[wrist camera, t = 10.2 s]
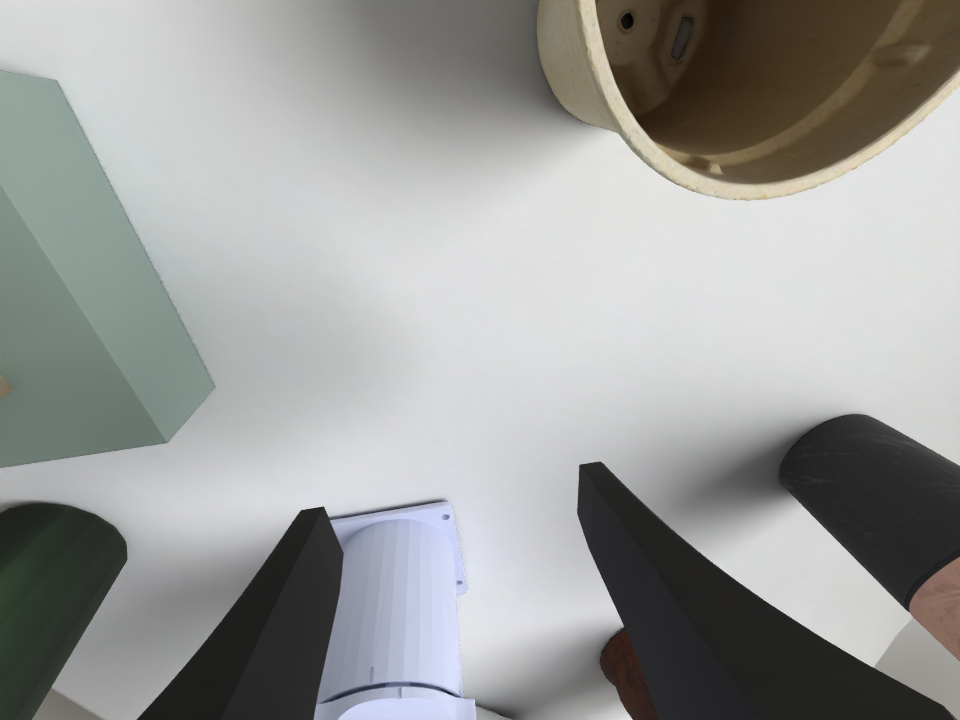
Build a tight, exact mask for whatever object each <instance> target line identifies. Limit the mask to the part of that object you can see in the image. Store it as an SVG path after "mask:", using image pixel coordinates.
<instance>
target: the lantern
mask: <svg viewBox="0 0 960 720" xmlns="http://www.w3.org/2000/svg"><path fill="white" fill-rule="evenodd" d="M600 665H601V669H602V671H603V673H604V675H605V677H606V678H607V679H608V680H609V681H610V682H611V683H612V684H613V685H614V686H616V688H617V691H618V694H619V697H620V700H621V702H622V704H623V706H624V708H625V709H626V710H627V712H628V713H629V715H630V716H631V718H632V719H633V720H659V718H658V715H657V712H656V709H655V706H654V703H653V700H652V697H651V695H650V692H649V689H648V686H647V683H646V681H645V678H644V675H643V672H642V670H641V667H640V664H639V661H638V659H637V656H636V653H635V650H634V648H633V646H632V643H631V641H630V638H629V636H628V634H627V631H626V629H625V628H624V629H622V630H621V631H620V632H619V633H617V634H616V635H615V636H614V637H612V638H611V639H610V641H609V642H608V643H607V645H606V646H605V647H604V649H603V650H602V653H601V658H600Z"/></svg>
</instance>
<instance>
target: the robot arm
mask: <svg viewBox="0 0 960 720" xmlns="http://www.w3.org/2000/svg"><path fill="white" fill-rule="evenodd" d="M445 514H447V515H445ZM577 514H578V517H579V520H580V523H581V526H582V529H583V532H584V535H585V538H586V541H587V544H588V547H589V550H590V552H591V554H592V556H593V559H594V561H595V563H596V565H597V568H598V570H599V572H600V574H601V576H602V579H603V581H604V583H605V585H606V587H607V590H608V592H609V594H610V596H611V598H612V601H613V603H614V605H615V607H616V609H617V611H618V614H619V616H620V618H621V620H622V622H623V625H624V627H625V629H626V631H627V634H628V636H629V638H630V641H631V643H632V646H633V648H634V650H635V653H636V656H637V659H638V661H639V664H640V667H641V670H642V672H643V675H644V678H645V681H646V683H647V686H648V689H649V692H650V695H651V697H652V700H653V703H654V706H655V709H656V712H657V715H658V718H659V720H957V719H956V718H955V717H954V716H953V715H952V714H951V713H950V712H949V711H948V710H947V709H946V708H945V707H944V706H942V705H941V704H939V703H937V702H935V701H933V700H932V699H930V698H928V697H926V696H924V695H922V694H920V693H919V692H917V691H915V690H913V689H911V688H909V687H908V686H906V685H904V684H902V683H900V682H898V681H897V680H895V679H893V678H891V677H889V676H887V675H885V674H884V673H882V672H880V671H878V670H876V669H875V668H873V667H871V666H869V665H867V664H866V663H864V662H862V661H860V660H859V659H857V658H855V657H854V656H852V655H850V654H848V653H847V652H845V651H843V650H842V649H840V648H838V647H837V646H835V645H833V644H832V643H830V642H828V641H827V640H825V639H823V638H821V637H820V636H818V635H817V634H815V633H814V632H812V631H811V630H809V629H808V628H806V627H804V626H803V625H801V624H800V623H798V622H797V621H795V620H794V619H792V618H790V617H789V616H787V615H786V614H784V613H783V612H781V611H780V610H778V609H776V608H775V607H773V606H772V605H770V604H769V603H767V602H766V601H764V600H763V599H761V598H760V597H759V596H757V595H756V594H754V593H753V592H752V591H750V590H749V589H747V588H746V587H744V586H743V585H742V584H740V583H739V582H737V581H736V580H735V579H733V578H732V577H731V576H729V575H728V574H727V573H725V572H724V571H723V570H721V569H720V568H719V567H717V566H716V565H715V564H713V563H712V562H711V561H710V560H708V559H707V558H706V557H704V556H703V555H702V554H701V553H699V552H698V551H697V550H696V549H695V548H693V547H692V546H691V545H690V544H689V543H687V542H686V541H685V540H684V539H683V538H681V537H680V536H679V535H678V534H677V533H676V532H674V531H673V530H672V529H671V528H670V527H669V526H667V525H666V524H665V523H664V522H663V521H662V520H661V519H660V518H659V517H658V516H656V515H655V514H654V513H653V512H652V511H651V510H650V509H649V508H648V507H647V506H646V505H644V504H643V503H642V502H641V501H640V500H639V499H638V498H637V497H636V496H635V495H634V494H633V493H632V492H631V491H630V490H629V489H628V488H627V487H626V486H625V485H624V484H623V483H622V482H621V481H620V480H619V479H618V478H617V477H616V476H615V475H614V474H613V473H612V472H611V471H610V470H609V469H608V468H607V467H606V466H605V465H604V464H603V463H602V462H594V463H588V464H582V465H579V487H578V509H577ZM466 592H467V582H466V577H465V572H464V567H463V561H462V556H461V551H460V546H459V540H458V535H457V530H456V525H455V519H454V514H453V509H452V505H451V504H450V503H449V502H438V503H432V504H426V505H420V506H414V507H408V508H402V509H396V510H390V511H384V512H378V513H372V514H366V515H360V516H353V517H347V518H341V519H335V520H329V517H328V515H327V513H326V510H325V508H324V507H318V508H312V509H306V510H301V511H300V513H299V514H298V515H297V517H296V518H295V519H294V521H293V522H292V524H291V525H290V527H289V528H288V530H287V531H286V533H285V534H284V536H283V537H282V538H281V540H280V541H279V543H278V544H277V546H276V547H275V549H274V550H273V552H272V553H271V554H270V556H269V557H268V559H267V560H266V562H265V563H264V564H263V566H262V567H261V569H260V570H259V571H258V573H257V574H256V576H255V577H254V578H253V580H252V581H251V582H250V584H249V585H248V587H247V588H246V589H245V591H244V592H243V594H242V595H241V596H240V598H239V599H238V600H237V602H236V603H235V604H234V605H233V607H232V608H231V609H230V611H229V612H228V613H227V614H226V616H225V617H224V618H223V620H222V621H221V622H220V623H219V625H218V626H217V627H216V629H215V630H214V631H213V632H212V634H211V635H210V636H209V638H208V639H207V640H206V641H205V642H204V644H203V645H202V646H201V647H200V649H199V650H198V651H197V652H196V653H195V655H194V656H193V657H192V658H191V659H190V661H189V662H188V663H187V664H186V665H185V666H184V668H183V669H182V670H181V671H180V672H179V673H178V674H177V676H176V677H175V678H174V679H173V680H172V681H171V683H170V684H169V685H168V686H167V687H166V688H165V689H164V690H163V692H162V693H161V694H160V695H159V696H158V697H157V698H156V699H155V700H154V701H153V702H152V704H151V705H150V706H149V707H148V708H147V709H146V710H145V711H144V712H143V713H142V714H141V716H140V717H139V718H138V719H137V720H477V719H476V708H475V700H474V699H465V698H464V695H463V681H462V667H461V653H460V638H459V624H458V610H457V596H456V595H461V594H464V593H466Z"/></svg>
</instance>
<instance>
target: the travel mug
mask: <svg viewBox="0 0 960 720" xmlns="http://www.w3.org/2000/svg"><path fill="white" fill-rule="evenodd" d="M780 479H781V482H782V483H783V485H784V486H785V487H786V489H787V490H788V491H789V492H790V493H791V494H792V495H793V496H794V497H795V498H796V499H797V500H798V501H799V502H800V503H801V504H802V505H803V506H804V508H805V509H806V510H807V511H808V512H809V513H810V514H811V515H812V516H813V517H814V518H815V519H816V520H817V521H818V522H819V523H820V524H821V525H822V526H823V527H824V528H825V529H826V530H827V531H828V532H829V533H830V534H831V535H832V536H833V537H834V538H835V539H836V540H837V541H838V542H839V543H840V544H841V545H842V546H843V547H844V548H845V549H846V550H847V551H848V552H849V553H850V554H851V555H852V556H853V557H854V558H855V559H856V560H857V561H858V562H859V563H860V564H861V565H862V566H863V567H864V568H865V569H866V570H867V571H868V572H869V573H870V574H871V575H872V576H873V577H874V578H875V579H876V580H877V581H878V582H879V583H880V584H881V585H882V586H883V587H884V588H885V589H886V590H887V591H888V592H889V593H890V594H891V595H892V596H893V597H894V598H895V599H896V600H897V601H898V602H899V603H900V604H901V605H902V606H903V607H904V608H905V609H906V610H907V611H908V612H910V614H911V615H912V616H913V617H914V618H915V619H916V620H917V621H918V622H919V623H920V624H921V625H922V626H923V627H924V628H925V629H926V630H927V631H928V632H930V634H932V635H933V636H934V637H935V638H936V639H937V640H938V641H939V642H940V643H941V644H942V645H943V646H944V647H945V648H946V649H947V650H948V651H949V652H950V653H951V654H952V655H954V656H955V657H956V658H957V659H958V660H959V661H960V466H959V465H957V464H955V463H953V462H952V461H950V460H948V459H946V458H945V457H943V456H941V455H939V454H938V453H936V452H934V451H932V450H931V449H929V448H927V447H925V446H924V445H922V444H920V443H918V442H917V441H915V440H913V439H911V438H909V437H908V436H906V435H904V434H902V433H901V432H899V431H897V430H895V429H893V428H892V427H890V426H888V425H886V424H884V423H883V422H881V421H879V420H877V419H875V418H872V417H870V416H866V415H848V416H843V417H839V418H836V419H833V420H831V421H828V422H826V423H824V424H822V425H820V426H818V427H817V428H815V429H813V430H812V431H810V432H809V433H808V434H806V435H805V436H804V437H802V438H801V439H800V440H799V441H798V442H797V443H796V444H795V445H794V446H793V447H792V448H791V450H790V451H789V452H788V453H787V455H786V457H785V458H784V460H783V462H782V465H781V468H780Z"/></svg>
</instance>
